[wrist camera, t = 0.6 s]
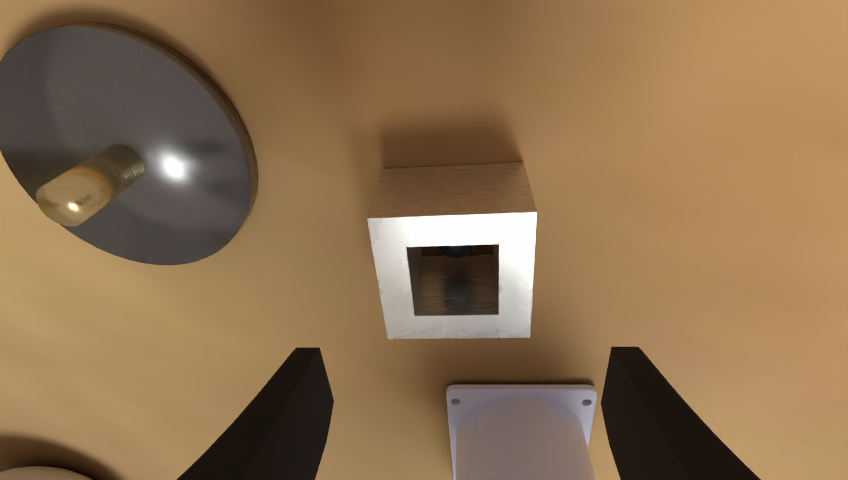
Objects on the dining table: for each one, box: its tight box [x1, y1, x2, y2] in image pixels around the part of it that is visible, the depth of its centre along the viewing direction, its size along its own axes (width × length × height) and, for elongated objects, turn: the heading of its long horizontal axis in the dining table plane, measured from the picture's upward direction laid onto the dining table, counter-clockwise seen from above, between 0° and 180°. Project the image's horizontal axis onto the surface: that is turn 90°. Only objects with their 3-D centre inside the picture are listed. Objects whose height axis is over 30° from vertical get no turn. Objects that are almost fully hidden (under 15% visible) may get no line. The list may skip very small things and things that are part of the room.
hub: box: [0, 23, 258, 265], centre depth 18 cm, size 10×10×4 cm
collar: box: [367, 162, 537, 339], centre depth 19 cm, size 6×6×4 cm
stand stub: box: [438, 245, 473, 258], centre depth 20 cm, size 1×1×2 cm
